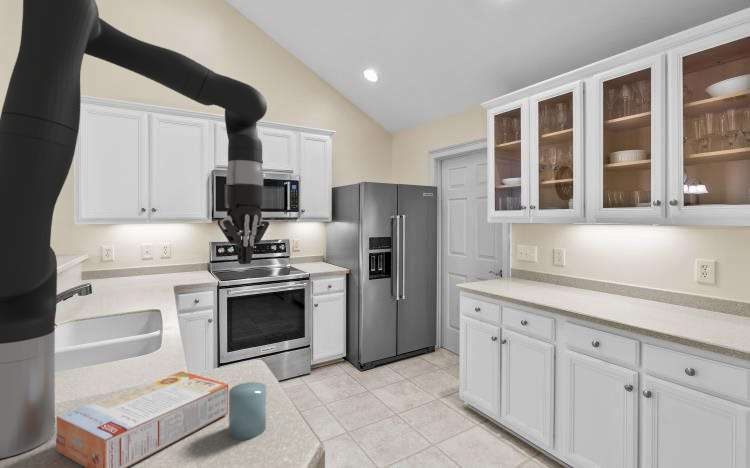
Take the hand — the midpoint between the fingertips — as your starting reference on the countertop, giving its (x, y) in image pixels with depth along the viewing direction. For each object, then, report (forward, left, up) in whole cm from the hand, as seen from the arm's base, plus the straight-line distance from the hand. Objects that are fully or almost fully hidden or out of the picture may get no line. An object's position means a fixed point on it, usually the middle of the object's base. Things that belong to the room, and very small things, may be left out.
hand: (244, 263), depth 79 cm
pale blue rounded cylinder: (-12, -14, -27) cm, 32 cm away
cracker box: (-10, 0, -24) cm, 26 cm away
